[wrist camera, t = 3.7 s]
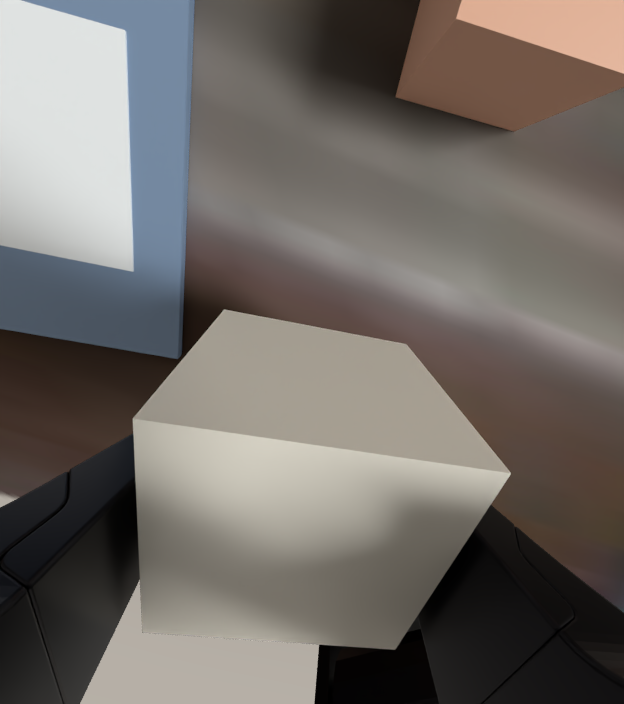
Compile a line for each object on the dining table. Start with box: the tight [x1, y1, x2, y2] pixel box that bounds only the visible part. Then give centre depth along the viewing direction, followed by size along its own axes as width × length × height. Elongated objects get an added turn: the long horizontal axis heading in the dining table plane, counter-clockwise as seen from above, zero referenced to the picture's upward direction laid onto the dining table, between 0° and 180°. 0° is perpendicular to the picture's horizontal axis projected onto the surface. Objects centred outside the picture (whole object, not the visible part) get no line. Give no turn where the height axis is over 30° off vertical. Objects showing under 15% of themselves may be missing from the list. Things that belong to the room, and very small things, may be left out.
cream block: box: [133, 309, 511, 650], centre depth 8 cm, size 6×6×5 cm
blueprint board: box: [0, 0, 195, 359], centre depth 11 cm, size 16×12×1 cm
